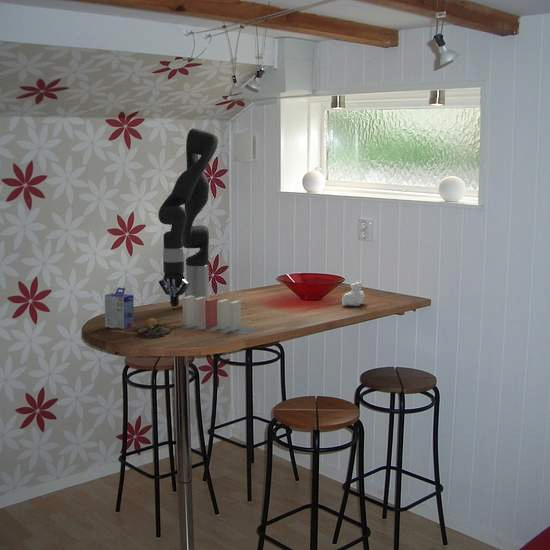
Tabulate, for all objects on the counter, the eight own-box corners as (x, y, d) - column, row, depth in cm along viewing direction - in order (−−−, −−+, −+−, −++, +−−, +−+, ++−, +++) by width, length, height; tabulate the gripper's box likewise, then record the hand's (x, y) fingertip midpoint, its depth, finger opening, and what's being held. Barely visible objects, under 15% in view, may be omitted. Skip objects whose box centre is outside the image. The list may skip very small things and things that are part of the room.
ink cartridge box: (135, 327, 276) (134, 288, 274) (124, 330, 272) (123, 290, 269) (115, 324, 281) (113, 286, 279) (104, 327, 277) (103, 288, 274)
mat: (175, 327, 276) (175, 325, 276) (193, 321, 286) (193, 320, 286) (244, 336, 263) (244, 334, 263) (260, 329, 272) (260, 328, 272)
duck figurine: (344, 312, 312) (356, 293, 305) (334, 299, 316) (346, 280, 309) (364, 308, 319) (377, 290, 312) (354, 295, 323) (366, 277, 316)
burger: (174, 337, 263) (174, 316, 262) (140, 340, 259) (139, 318, 258) (167, 329, 274) (166, 309, 273) (134, 332, 270) (133, 311, 269)
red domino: (205, 327, 273) (205, 300, 272) (213, 324, 278) (213, 297, 276) (209, 328, 273) (209, 300, 271) (217, 325, 277) (217, 298, 275)
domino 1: (182, 324, 278) (182, 297, 277) (190, 321, 283) (190, 295, 281) (186, 325, 277) (186, 298, 276) (195, 322, 282) (194, 295, 280)
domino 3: (217, 329, 271) (217, 301, 270) (225, 326, 276) (224, 299, 274) (221, 329, 270) (221, 302, 269) (229, 326, 275) (229, 299, 273)
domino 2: (194, 326, 276) (193, 299, 274) (202, 323, 280) (201, 296, 279) (198, 326, 275) (197, 299, 273) (206, 323, 280) (205, 297, 278)
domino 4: (229, 330, 269) (229, 302, 267) (237, 327, 273) (236, 300, 272) (233, 331, 268) (233, 303, 266) (241, 328, 272) (241, 300, 271)
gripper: (194, 259, 279) (195, 306, 282) (165, 257, 286) (166, 302, 288) (182, 262, 273) (183, 309, 276) (152, 260, 279) (154, 306, 282)
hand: (174, 306), depth 282 cm, fingers closed
